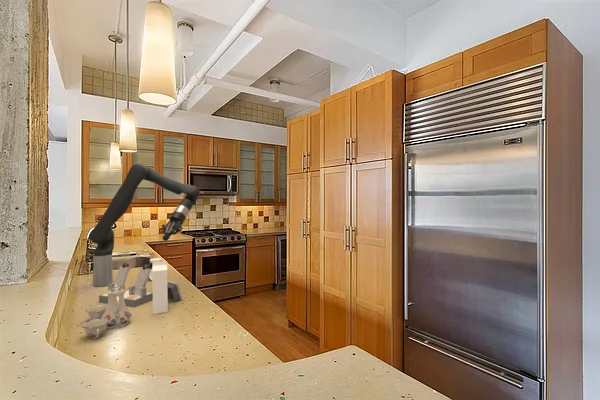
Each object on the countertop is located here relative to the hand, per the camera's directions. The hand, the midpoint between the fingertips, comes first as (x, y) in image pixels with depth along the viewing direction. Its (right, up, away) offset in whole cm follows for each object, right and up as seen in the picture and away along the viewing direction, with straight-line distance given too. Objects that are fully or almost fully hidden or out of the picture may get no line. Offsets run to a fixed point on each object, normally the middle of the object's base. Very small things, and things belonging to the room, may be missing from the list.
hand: (164, 239), depth 168 cm
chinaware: (-5, -29, -42) cm, 51 cm away
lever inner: (-19, -24, -10) cm, 33 cm away
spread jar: (-17, -28, +28) cm, 43 cm away
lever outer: (-7, -24, -14) cm, 29 cm away
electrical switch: (+9, -28, -12) cm, 32 cm away
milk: (+9, -29, -26) cm, 40 cm away
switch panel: (-13, -28, -12) cm, 33 cm away
